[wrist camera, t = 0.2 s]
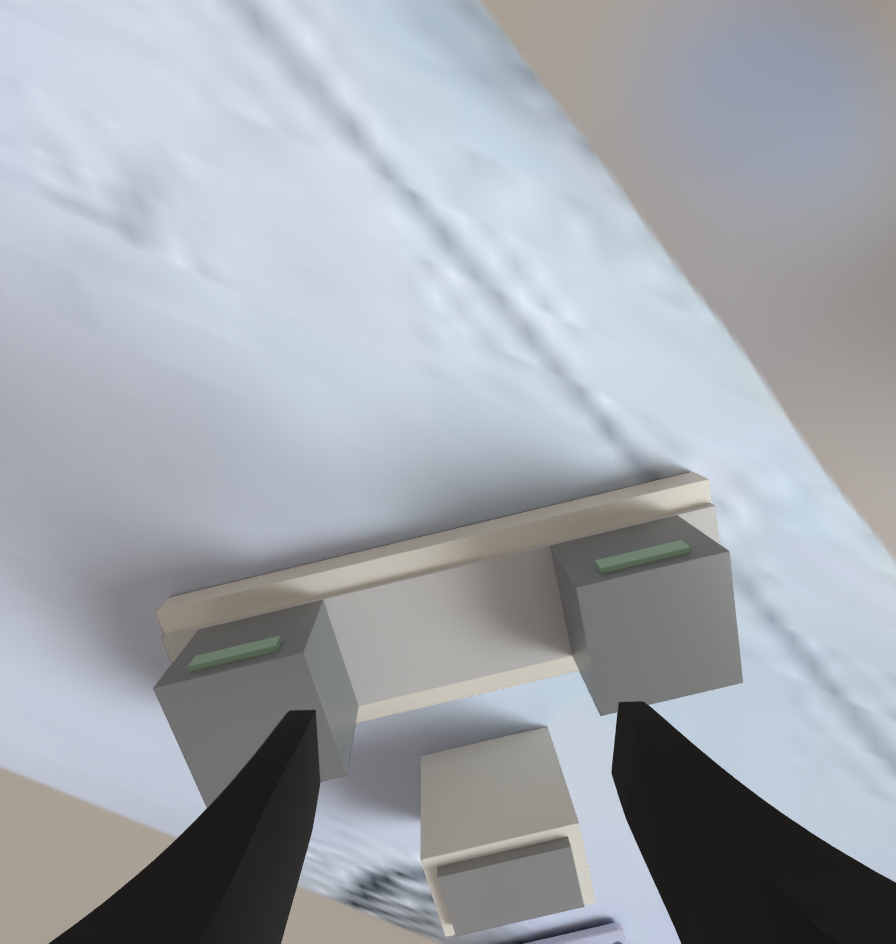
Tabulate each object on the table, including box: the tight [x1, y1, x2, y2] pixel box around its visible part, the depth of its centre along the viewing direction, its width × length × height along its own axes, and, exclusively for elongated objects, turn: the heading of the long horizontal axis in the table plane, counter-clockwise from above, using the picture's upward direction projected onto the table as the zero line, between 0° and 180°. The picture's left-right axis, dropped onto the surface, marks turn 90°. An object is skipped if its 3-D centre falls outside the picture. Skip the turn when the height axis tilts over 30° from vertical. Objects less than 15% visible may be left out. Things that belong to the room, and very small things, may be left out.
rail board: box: [153, 472, 743, 808], centre depth 20 cm, size 7×22×5 cm, turn 103°
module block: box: [421, 726, 596, 937], centre depth 22 cm, size 4×6×5 cm, turn 103°
